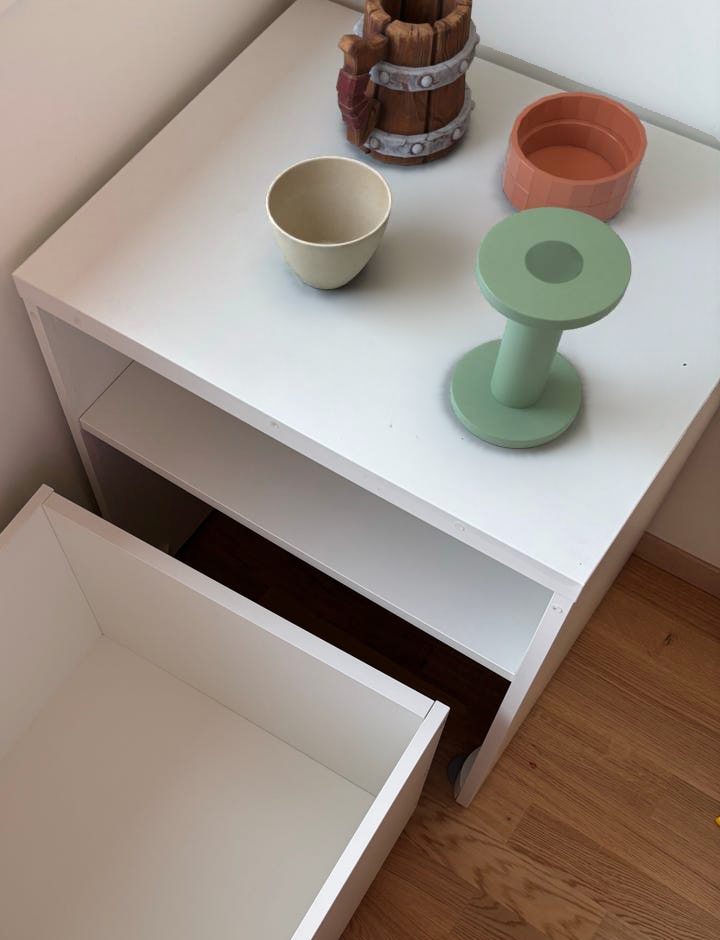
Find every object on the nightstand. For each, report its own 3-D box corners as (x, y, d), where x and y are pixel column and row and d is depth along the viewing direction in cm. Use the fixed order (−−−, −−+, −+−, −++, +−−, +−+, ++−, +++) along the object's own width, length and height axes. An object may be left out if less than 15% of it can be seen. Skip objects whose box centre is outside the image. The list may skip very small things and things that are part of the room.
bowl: (640, 156, 89) (658, 105, 84) (614, 244, 84) (632, 196, 80) (517, 132, 91) (529, 81, 86) (487, 217, 87) (497, 168, 82)
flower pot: (388, 310, 83) (395, 244, 76) (268, 313, 84) (265, 248, 77) (383, 222, 87) (389, 152, 81) (269, 226, 88) (266, 156, 81)
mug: (505, 112, 91) (518, -40, 77) (401, 219, 90) (395, 84, 76) (408, 57, 95) (403, -97, 81) (306, 159, 94) (284, 20, 80)
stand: (591, 363, 80) (645, 224, 67) (562, 462, 76) (614, 335, 63) (468, 333, 81) (498, 193, 69) (434, 429, 78) (460, 300, 65)
